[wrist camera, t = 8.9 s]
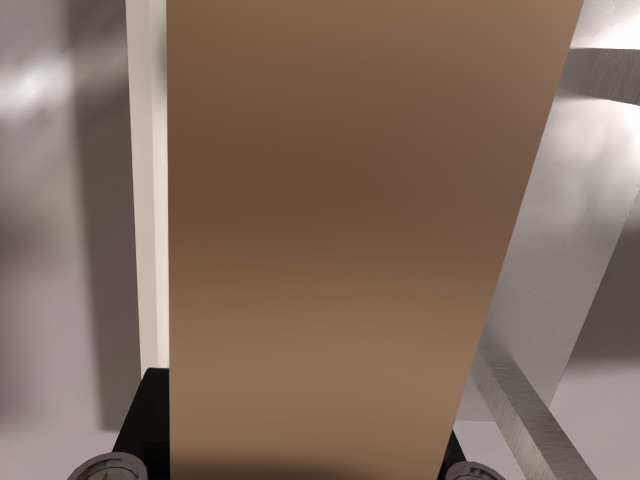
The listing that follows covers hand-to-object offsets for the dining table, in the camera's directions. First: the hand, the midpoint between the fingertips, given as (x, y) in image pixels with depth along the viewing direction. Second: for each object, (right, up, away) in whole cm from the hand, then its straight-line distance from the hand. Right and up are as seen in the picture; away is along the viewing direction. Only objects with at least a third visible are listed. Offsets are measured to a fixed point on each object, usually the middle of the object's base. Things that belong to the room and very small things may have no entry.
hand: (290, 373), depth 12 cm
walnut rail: (0, 0, -1) cm, 1 cm away
